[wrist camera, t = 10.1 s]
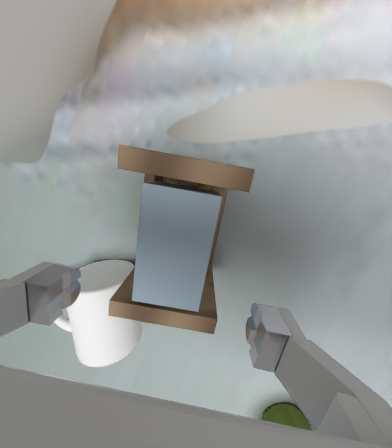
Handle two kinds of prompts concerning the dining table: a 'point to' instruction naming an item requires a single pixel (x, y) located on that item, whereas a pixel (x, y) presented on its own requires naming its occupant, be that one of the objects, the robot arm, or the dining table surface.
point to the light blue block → (174, 244)
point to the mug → (100, 316)
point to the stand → (215, 181)
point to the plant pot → (286, 416)
